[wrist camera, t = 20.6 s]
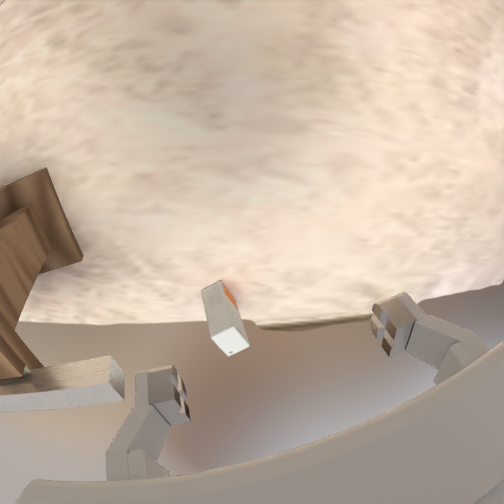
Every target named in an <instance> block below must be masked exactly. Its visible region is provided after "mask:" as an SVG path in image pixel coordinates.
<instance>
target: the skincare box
mask: <svg viewBox="0 0 504 504" xmlns="http://www.w3.org/2000/svg"><path fill="white" fill-rule="evenodd" d="M202 297H203V302H204V307H205V312H206V317H207V322H208V327H209V332H210V337H211V339H212V340H213V341H214V342H215V343H216V344H217V345H218V347H219V348H220V349H222V350H223V351H224V352H225V354H226V355H228V356H231V355H232V354H235V353H237V352H239V351H241V350H243V349H245V348H247V347H249V342H248V338H247V335H246V333H245V329H244V326H243V323H242V320H241V317H240V314H239V310H238V307H237V304H236V301H235V299H234V298H233V297H232V295H231V294H230V293H229V291H228V290H227V289H226V287H225V286H224V284H223V283H222V281H221V280H220V281H218V282H216V283H214V284H212V285H210V286H209V287H207V288H205V289H203V290H202Z"/></svg>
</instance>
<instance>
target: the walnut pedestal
mask: <svg viewBox="0 0 504 504" xmlns="http://www.w3.org/2000/svg"><path fill="white" fill-rule="evenodd" d="M82 258H83V254H82V252H81V250H80V248H79V246H78V243H77V241H76V239H75V237H74V235H73V232H72V230H71V228H70V226H69V223H68V221H67V219H66V216H65V214H64V212H63V209H62V207H61V204H60V202H59V199H58V197H57V194H56V192H55V189H54V186H53V184H52V181H51V178H50V176H49V173H48V170H47V168H45V169H42V170H40V171H38V172H35V173H33V174H31V175H29V176H26V177H24V178H22V179H20V180H18V181H16V182H13V183H11V184H9V185H7V186H5V187H3V188H1V189H0V379H5V378H13V377H21V376H23V372H24V370H30V369H36V368H43V367H44V366H43V365H42V364H41V363H40V362H39V360H38V359H37V358H36V357H35V356H34V354H33V353H32V352H31V351H30V350H29V348H28V347H27V346H26V345H25V343H24V342H23V341H22V340H21V339H20V337H19V336H18V334H17V333H16V332H15V327H16V325H17V322H18V320H19V317H20V315H21V312H22V310H23V307H24V305H25V302H26V300H27V298H28V295H29V293H30V291H31V289H32V286H33V284H34V282H35V280H36V278H37V276H38V274H41V273H44V272H47V271H50V270H54V269H57V268H60V267H63V266H66V265H70V264H73V263H76V262H80V261H82ZM50 410H52V409H50ZM37 411H39V410H37ZM18 412H20V411H18Z"/></svg>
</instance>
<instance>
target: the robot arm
mask: <svg viewBox="0 0 504 504" xmlns="http://www.w3.org/2000/svg"><path fill="white" fill-rule="evenodd" d="M3 1H4V0H0V4H1V3H2V2H3ZM372 311H373V313H374V315H373V316H372V317H371V321H370V325H371V330H372V332H373V334H374V336H375V337H376V339H378V340H381V341H382V345H381V346H382V348H383V349H384V351H385V352H386V353H387V355H388V357H391V356H393V355H396V354H398V353H400V352H403V351H405V350H406V352H408V353H410V354H411V355H413V356H415V357H417V358H418V359H420V360H422V361H424V362H426V363H427V364H429V365H431V366H433V367H434V368H436V369H438V370H439V371H438V372H437V374H436V376H435V378H434V382H435V384H436V386H434V387H432V388H431V389H429V390H427V391H425V392H423V393H422V394H420V395H418V396H416V397H414V398H412V399H411V400H409V401H407V402H405V403H403V404H401V405H399V406H397V407H395V408H393V409H391V410H389V411H387V412H385V413H382V414H380V415H378V416H376V417H374V418H372V419H369V420H367V421H365V422H363V423H360V424H358V425H356V426H353V427H351V428H348V429H346V430H343V431H341V432H338V433H336V434H333V435H331V436H328V437H325V438H323V439H320V440H317V441H315V442H312V443H308V444H305V445H302V446H299V447H296V448H293V449H290V450H287V451H284V452H280V453H277V454H273V455H270V456H266V457H263V458H259V459H255V460H252V461H248V462H244V463H239V464H235V465H230V466H226V467H221V468H216V469H211V470H206V471H201V472H194V473H188V474H182V475H175V476H170V475H169V471H168V470H166V469H165V468H164V467H163V466H161V465H160V464H159V463H157V459H158V457H159V455H160V452H161V450H162V447H163V445H164V443H165V440H166V438H167V435H168V433H169V430H170V428H171V426H172V425H176V424H181V423H186V422H190V421H191V419H190V413H189V407H188V405H187V404H186V402H185V401H186V399H187V393H186V389H185V385H184V382H183V380H182V378H181V376H179V375H177V369H176V368H175V366H174V365H170V366H165V367H160V368H154V369H149V370H144V371H138V372H136V375H135V404H136V408H132V410H131V411H130V413H129V415H128V416H127V418H126V419H125V421H124V423H123V424H122V426H121V428H120V429H119V431H118V433H117V434H116V436H115V438H114V439H113V441H112V443H111V444H110V446H109V448H108V449H107V451H106V475H107V481H94V482H84V481H52V480H41V479H38V480H33V481H31V482H30V483H29V484H28V485H27V487H26V488H25V489H24V491H23V492H22V493H21V495H20V497H19V498H18V499H17V501H16V503H15V504H504V341H502V342H501V343H500V344H498V345H497V346H496V347H495V348H493V349H491V350H490V351H489V350H488V349H487V348H486V346H485V345H484V344H483V343H482V342H481V340H480V339H479V338H478V337H477V336H476V335H475V333H474V332H472V331H470V330H467V329H464V328H462V327H459V326H457V325H454V324H451V323H449V322H446V321H444V320H441V319H438V318H436V317H433V316H430V315H429V316H426V314H425V313H424V312H423V311H422V310H421V309H420V307H419V306H418V305H417V304H416V303H415V302H414V301H413V299H412V298H411V297H410V296H409V295H408V294H407V293H405V292H403V293H401V294H398V295H396V296H392V297H390V298H388V299H385V300H383V301H380V302H378V303H375V304H374V305H373V308H372Z"/></svg>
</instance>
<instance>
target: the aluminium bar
mask: <svg viewBox="0 0 504 504" xmlns="http://www.w3.org/2000/svg"><path fill="white" fill-rule="evenodd" d="M124 386H125V374H124V373H123V371H122V370H121V369H120V367H119V366H118V365H117V363H116V362H115V360H114V359H113V358H112V356H111V355H110V356H105V357H99V358H95V359H89V360H84V361H79V362H73V363H67V364H61V365H56V366H49V367H43V368H36V369H30V370H24V372H23V376H21V377H13V378H5V379H0V412H18V411H37V410H50V409H61V408H71V407H81V406H90V405H97V404H105V403H112V402H118V401H124V392H125V391H124V390H125V388H124Z"/></svg>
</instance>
